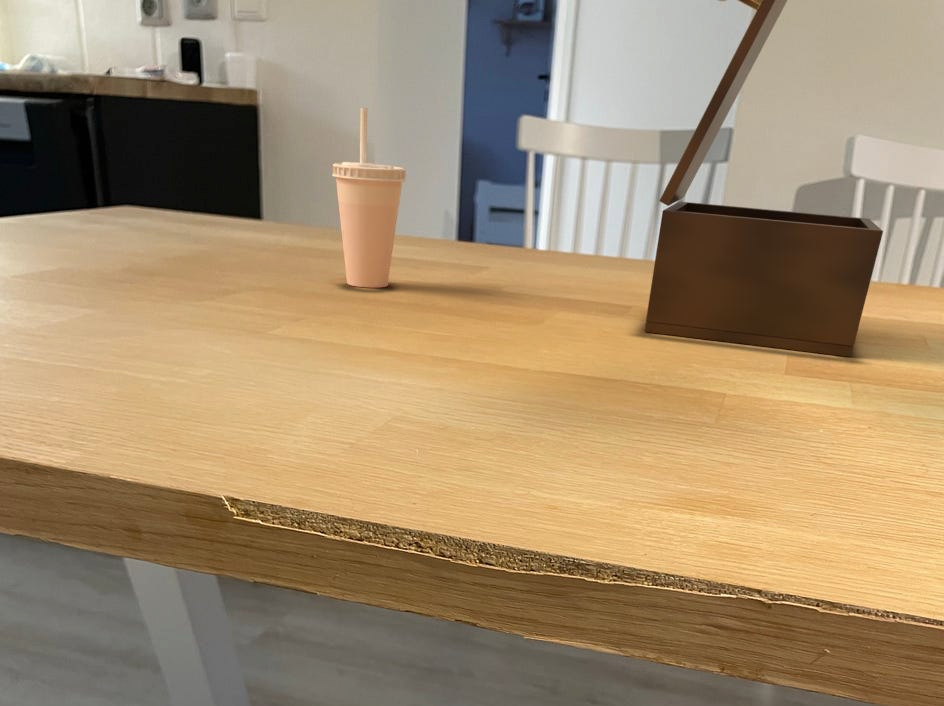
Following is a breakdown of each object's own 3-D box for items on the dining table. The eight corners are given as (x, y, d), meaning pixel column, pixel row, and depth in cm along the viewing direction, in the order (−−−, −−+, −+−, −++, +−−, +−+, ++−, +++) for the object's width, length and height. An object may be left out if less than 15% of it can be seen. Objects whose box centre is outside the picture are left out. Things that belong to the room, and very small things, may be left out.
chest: (842, 329, 82) (869, 218, 78) (850, 357, 71) (883, 230, 67) (661, 308, 85) (678, 201, 81) (644, 332, 75) (662, 210, 71)
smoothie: (341, 276, 90) (342, 106, 83) (408, 282, 89) (414, 112, 82) (323, 285, 84) (323, 105, 77) (394, 292, 83) (400, 110, 77)
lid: (796, -16, 72) (733, -49, 72) (797, -44, 62) (724, -82, 62) (683, 197, 81) (628, 167, 81) (668, 206, 70) (604, 171, 70)
